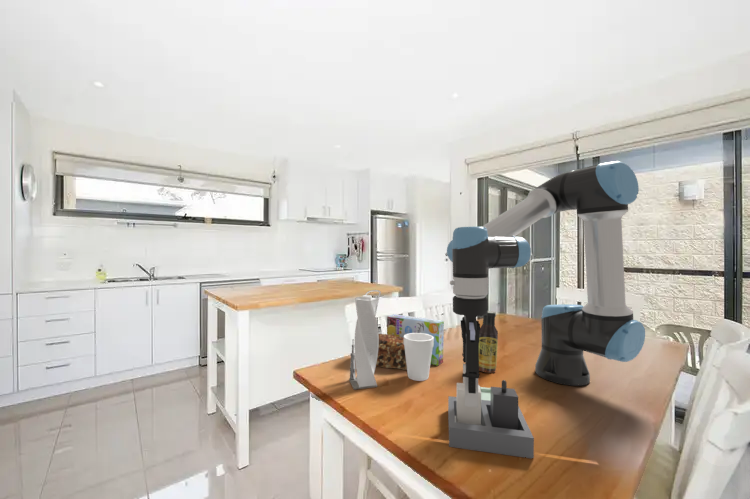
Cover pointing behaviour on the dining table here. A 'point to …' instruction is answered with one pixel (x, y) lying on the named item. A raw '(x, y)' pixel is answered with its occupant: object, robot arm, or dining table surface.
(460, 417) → the white block with knob
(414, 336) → the foam cup
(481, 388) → the tray
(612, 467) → the dining table surface
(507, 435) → the grey desk organizer
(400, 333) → the snack box
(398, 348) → the bread
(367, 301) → the skyscraper
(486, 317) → the sauce bottle
